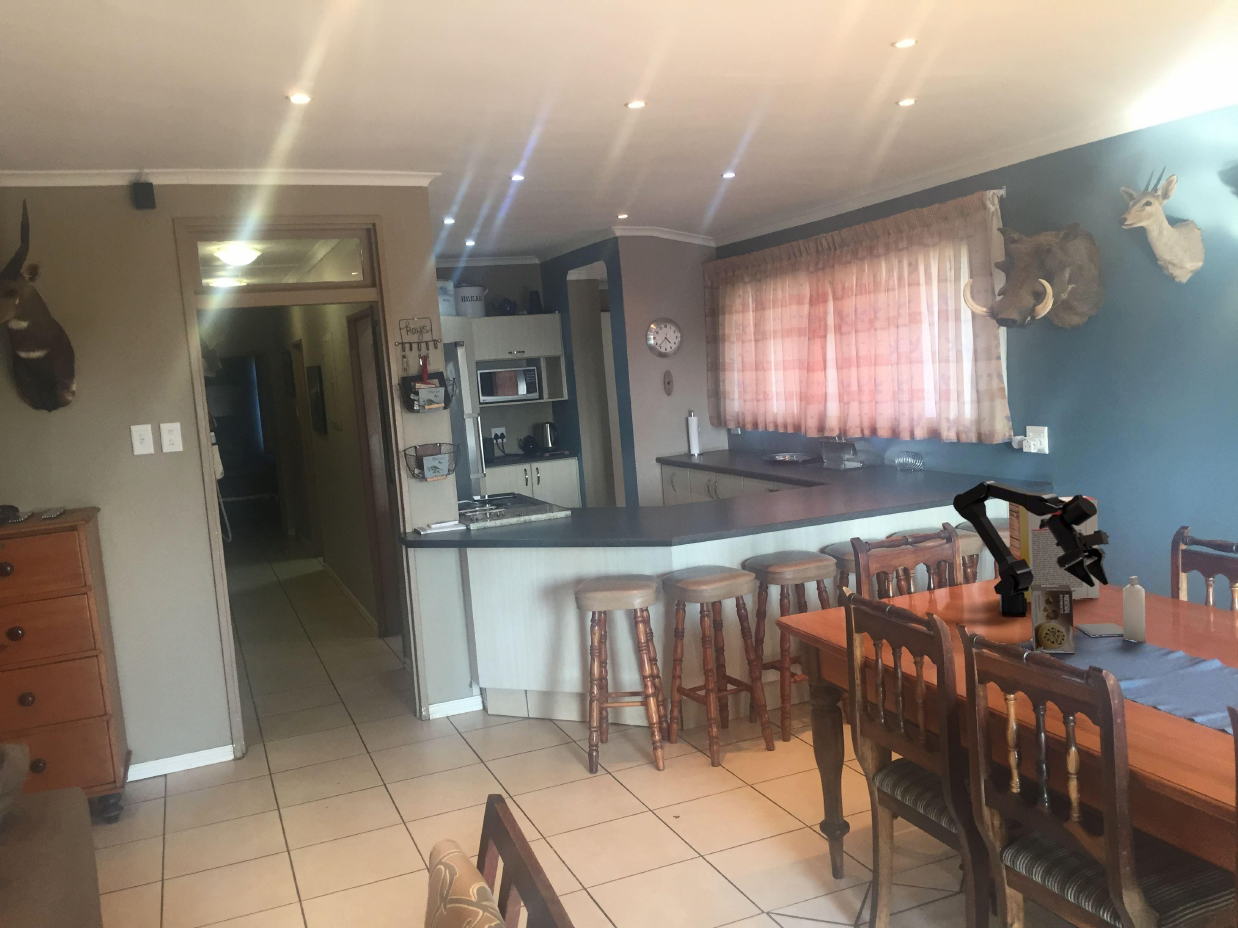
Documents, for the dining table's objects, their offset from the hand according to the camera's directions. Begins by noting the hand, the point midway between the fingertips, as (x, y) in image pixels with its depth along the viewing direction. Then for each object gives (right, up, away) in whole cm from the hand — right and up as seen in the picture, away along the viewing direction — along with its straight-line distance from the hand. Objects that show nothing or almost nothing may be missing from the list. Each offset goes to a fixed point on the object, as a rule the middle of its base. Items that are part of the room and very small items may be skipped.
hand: (1100, 585), depth 236 cm
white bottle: (+5, -13, -7) cm, 15 cm away
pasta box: (+7, -9, +39) cm, 40 cm away
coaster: (+2, -12, +1) cm, 12 cm away
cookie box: (-18, -15, -11) cm, 26 cm away
